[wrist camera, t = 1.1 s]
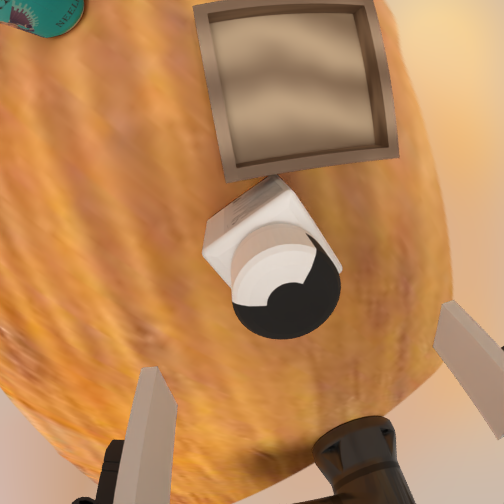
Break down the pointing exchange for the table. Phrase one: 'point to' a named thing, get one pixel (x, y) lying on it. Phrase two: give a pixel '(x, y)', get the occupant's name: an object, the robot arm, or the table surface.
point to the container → (273, 261)
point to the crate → (296, 84)
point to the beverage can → (41, 15)
